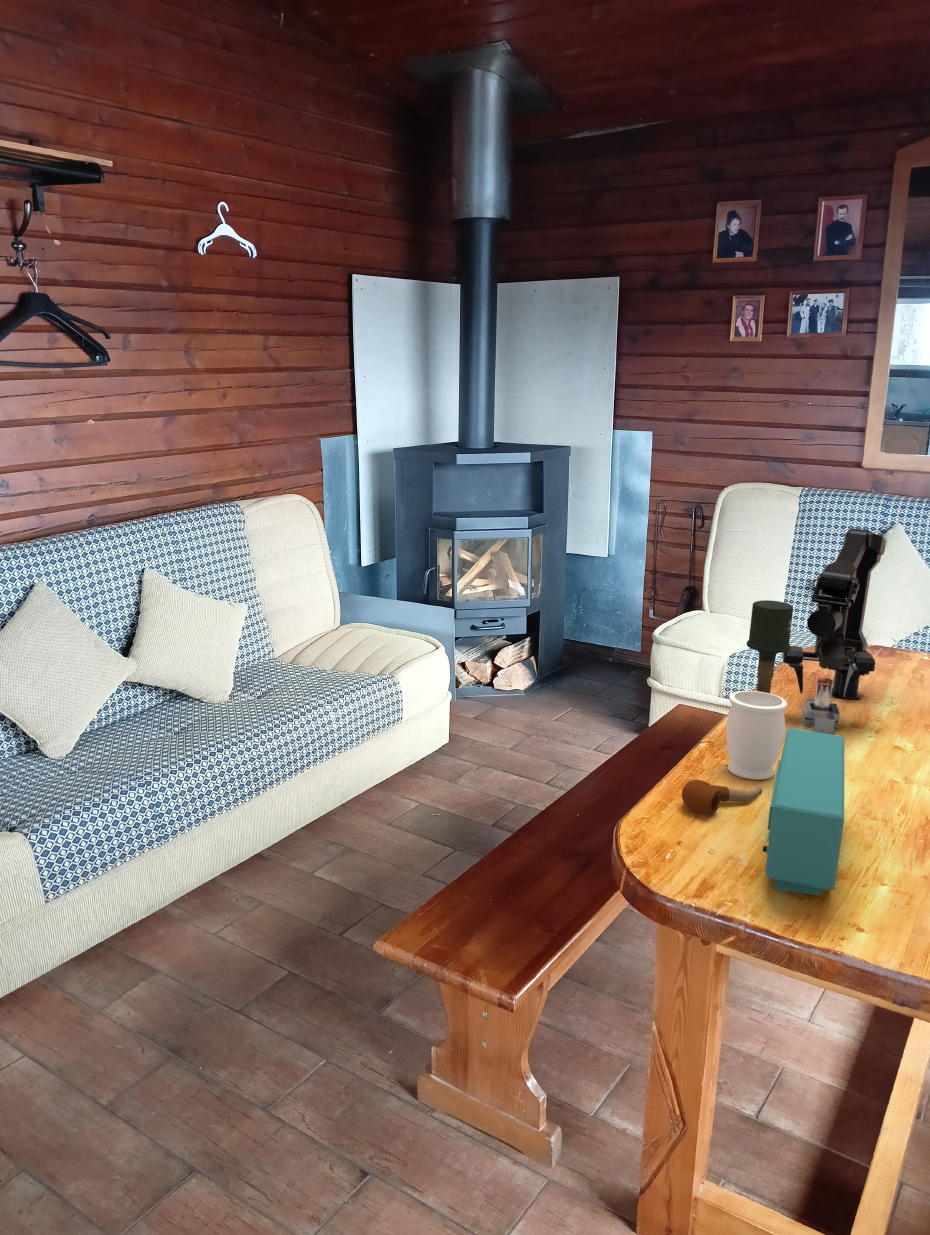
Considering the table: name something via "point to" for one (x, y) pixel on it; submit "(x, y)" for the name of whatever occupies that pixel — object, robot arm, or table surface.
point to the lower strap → (809, 720)
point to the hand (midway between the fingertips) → (822, 695)
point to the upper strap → (821, 717)
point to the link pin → (823, 694)
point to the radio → (806, 813)
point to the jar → (754, 733)
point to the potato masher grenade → (769, 637)
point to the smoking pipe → (712, 796)
